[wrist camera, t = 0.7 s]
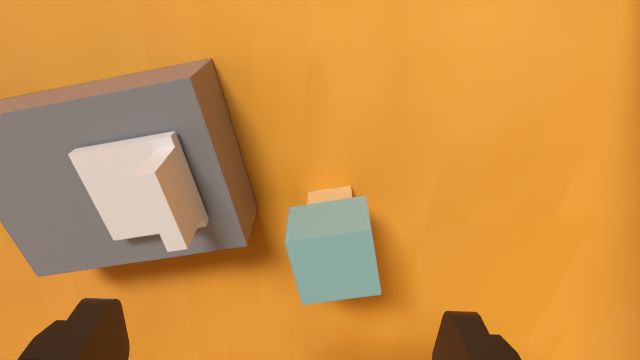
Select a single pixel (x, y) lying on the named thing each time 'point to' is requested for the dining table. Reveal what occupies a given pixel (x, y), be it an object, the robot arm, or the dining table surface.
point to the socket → (110, 126)
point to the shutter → (143, 188)
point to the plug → (332, 247)
